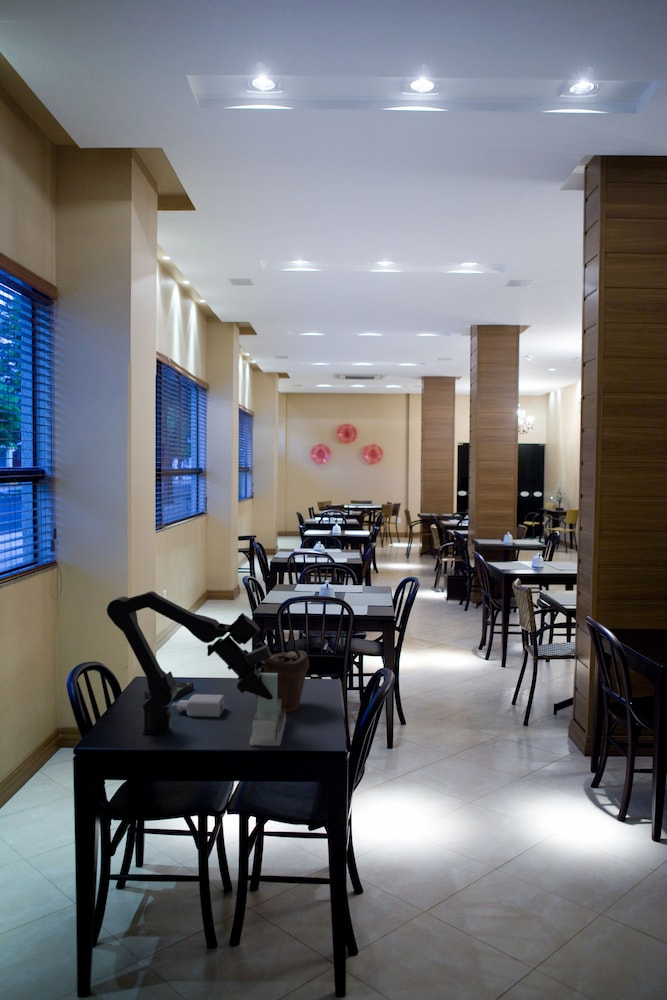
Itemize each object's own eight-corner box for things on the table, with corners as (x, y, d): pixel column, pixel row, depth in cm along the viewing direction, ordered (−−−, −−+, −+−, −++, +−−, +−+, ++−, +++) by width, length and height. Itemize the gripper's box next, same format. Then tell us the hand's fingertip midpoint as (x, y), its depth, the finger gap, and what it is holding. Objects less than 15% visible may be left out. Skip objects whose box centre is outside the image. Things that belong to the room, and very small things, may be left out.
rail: (249, 745, 198) (249, 720, 198) (258, 720, 219) (258, 698, 219) (280, 745, 198) (280, 721, 198) (285, 721, 219) (286, 698, 219)
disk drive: (166, 688, 256) (143, 699, 241) (166, 680, 256) (143, 690, 241) (193, 690, 253) (173, 702, 239) (194, 682, 253) (173, 693, 239)
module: (257, 722, 206) (258, 676, 206) (258, 717, 211) (259, 672, 211) (275, 722, 206) (276, 677, 206) (276, 717, 211) (277, 673, 211)
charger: (175, 708, 232) (224, 709, 231) (168, 717, 223) (218, 718, 222) (176, 692, 232) (224, 693, 231) (168, 701, 222) (218, 702, 222)
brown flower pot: (319, 701, 240) (318, 645, 239) (293, 719, 221) (292, 658, 221) (268, 696, 246) (268, 641, 246) (239, 713, 228) (238, 653, 227)
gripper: (250, 642, 199) (291, 685, 199) (258, 629, 218) (295, 668, 218) (220, 671, 199) (261, 714, 199) (230, 655, 218) (267, 694, 218)
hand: (272, 696), depth 209 cm, fingers closed on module, 4 cm apart
